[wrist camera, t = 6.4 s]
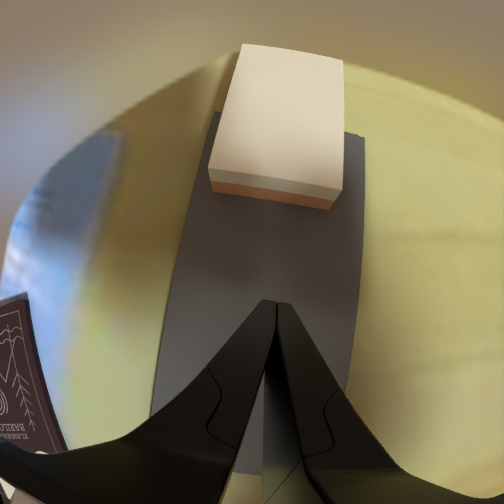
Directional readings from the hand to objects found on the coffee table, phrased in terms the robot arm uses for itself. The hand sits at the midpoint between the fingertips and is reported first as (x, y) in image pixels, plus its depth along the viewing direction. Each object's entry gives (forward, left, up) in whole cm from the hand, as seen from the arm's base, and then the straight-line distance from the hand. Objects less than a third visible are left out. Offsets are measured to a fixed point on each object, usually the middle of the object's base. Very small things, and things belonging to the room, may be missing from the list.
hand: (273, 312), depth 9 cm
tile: (+6, 0, -4) cm, 7 cm away
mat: (+2, 0, -6) cm, 6 cm away
